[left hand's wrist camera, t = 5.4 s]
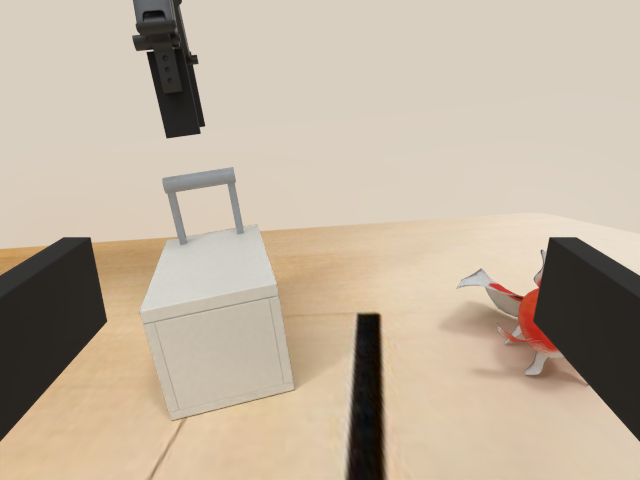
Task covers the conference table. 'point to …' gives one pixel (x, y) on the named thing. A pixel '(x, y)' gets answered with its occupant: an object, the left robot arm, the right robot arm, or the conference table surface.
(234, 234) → the lid
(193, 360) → the chest
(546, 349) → the fish
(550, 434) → the conference table surface
